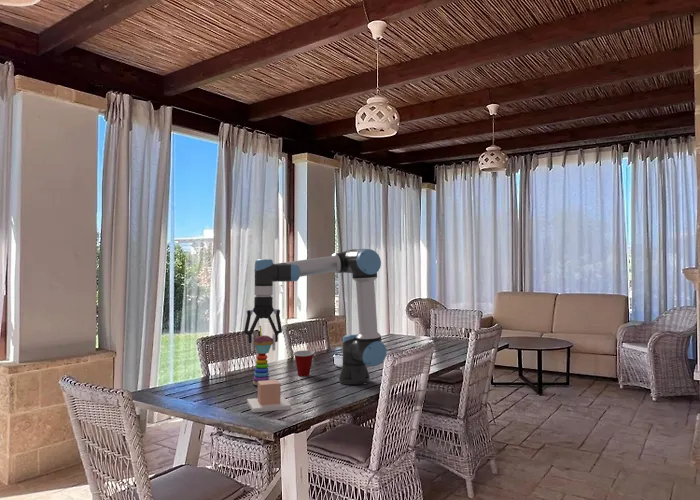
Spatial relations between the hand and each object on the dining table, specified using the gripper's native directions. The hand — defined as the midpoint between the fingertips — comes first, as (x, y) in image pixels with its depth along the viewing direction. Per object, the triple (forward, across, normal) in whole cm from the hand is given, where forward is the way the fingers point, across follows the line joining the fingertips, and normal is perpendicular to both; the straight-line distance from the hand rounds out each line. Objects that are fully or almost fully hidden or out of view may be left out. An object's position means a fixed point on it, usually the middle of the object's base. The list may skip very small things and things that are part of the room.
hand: (263, 350), depth 218 cm
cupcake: (+1, 0, 0) cm, 1 cm away
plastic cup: (+22, -28, -46) cm, 58 cm away
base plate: (+21, -2, +6) cm, 22 cm away
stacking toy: (+22, -4, -32) cm, 39 cm away
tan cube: (+20, -2, +6) cm, 21 cm away
